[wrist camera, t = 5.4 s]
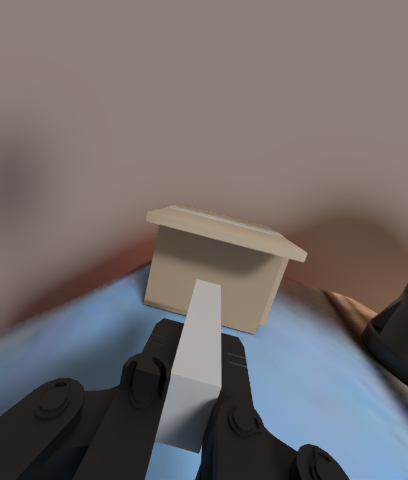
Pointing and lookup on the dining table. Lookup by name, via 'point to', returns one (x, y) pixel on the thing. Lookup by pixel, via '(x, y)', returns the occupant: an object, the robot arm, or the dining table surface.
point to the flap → (226, 230)
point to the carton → (214, 277)
